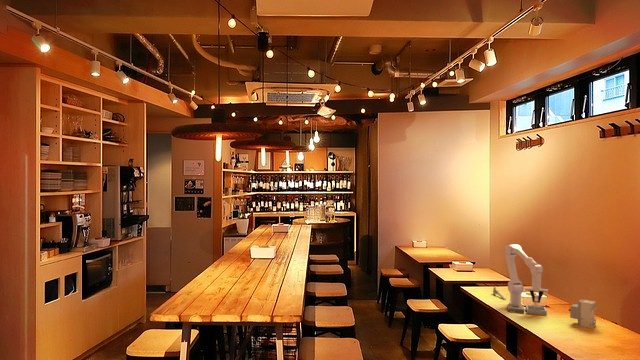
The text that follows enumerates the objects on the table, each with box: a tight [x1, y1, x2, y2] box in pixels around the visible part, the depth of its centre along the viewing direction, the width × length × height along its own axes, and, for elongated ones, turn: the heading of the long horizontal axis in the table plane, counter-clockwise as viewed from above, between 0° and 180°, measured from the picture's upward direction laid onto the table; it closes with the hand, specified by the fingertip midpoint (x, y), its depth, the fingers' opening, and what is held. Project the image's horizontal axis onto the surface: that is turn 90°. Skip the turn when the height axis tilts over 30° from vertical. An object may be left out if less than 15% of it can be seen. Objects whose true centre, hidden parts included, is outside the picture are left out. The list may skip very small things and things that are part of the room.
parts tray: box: [525, 304, 548, 316], centre depth 330 cm, size 12×12×3 cm
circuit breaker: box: [568, 299, 597, 329], centre depth 303 cm, size 8×14×15 cm, turn 45°
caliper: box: [492, 286, 507, 301], centre depth 375 cm, size 20×1×6 cm, turn 4°
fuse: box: [533, 294, 540, 308], centre depth 330 cm, size 3×3×8 cm
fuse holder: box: [507, 303, 525, 314], centre depth 334 cm, size 12×10×2 cm
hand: (536, 302), depth 330 cm, fingers closed on fuse, 3 cm apart
